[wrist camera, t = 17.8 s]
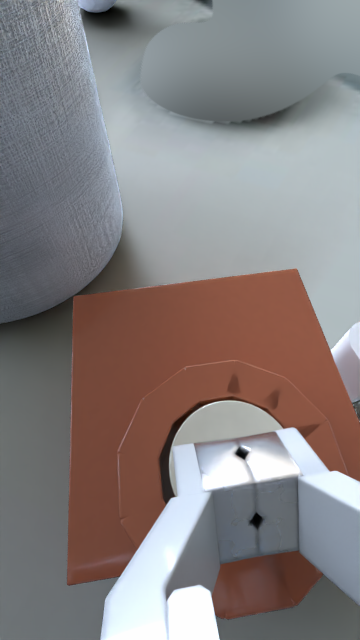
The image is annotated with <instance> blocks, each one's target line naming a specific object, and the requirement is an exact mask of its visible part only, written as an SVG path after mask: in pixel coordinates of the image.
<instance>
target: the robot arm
mask: <svg viewBox="0 0 360 640" xmlns="http://www.w3.org/2000/svg"><path fill="white" fill-rule="evenodd" d="M172 451H173V460H174V469H175V477H176V486H177V495H178V497H174V498H171V499H170V500H169V502H168V504H167V505H166V507H165V508H164V510H163V511H162V513H161V514H160V516H159V517H158V519H157V520H156V522H155V524H154V525H153V527H152V528H151V530H150V531H149V533H148V534H147V536H146V537H145V539H144V540H143V542H142V544H141V545H140V547H139V548H138V550H137V551H136V553H135V554H134V556H133V557H132V559H131V560H130V562H129V564H128V565H127V567H126V568H125V570H124V571H123V573H122V574H121V576H120V577H119V579H118V580H117V582H116V584H115V585H114V587H113V588H112V590H111V591H110V593H109V594H108V596H107V597H106V599H105V606H104V614H103V623H102V631H101V639H100V640H220V639H219V634H218V629H217V623H216V618H215V612H214V607H213V602H212V593H213V589H214V586H215V583H216V580H217V576H218V573H219V570H220V564H225V563H230V562H234V561H239V560H244V559H248V558H253V557H258V556H264V555H271V554H278V553H285V552H292V551H298V550H299V553H300V554H301V555H303V556H304V557H305V558H306V559H307V560H308V561H309V562H310V563H311V564H313V565H314V566H315V567H316V568H317V569H318V570H319V571H320V572H322V573H323V574H324V575H325V576H326V577H327V578H328V579H329V580H331V581H332V582H333V583H334V584H335V585H336V586H337V587H338V588H340V589H341V590H342V591H343V592H344V593H345V594H346V595H347V596H348V597H350V598H351V599H352V600H353V601H354V602H355V603H356V604H357V605H359V606H360V482H359V481H357V480H355V479H353V478H351V477H349V476H346V475H344V474H342V473H340V472H338V471H331V472H330V471H329V470H328V469H327V467H326V466H325V465H324V463H323V462H322V461H321V460H320V458H319V457H318V456H317V454H316V453H315V452H314V451H313V449H312V448H311V447H310V445H309V444H308V443H307V442H306V440H305V439H304V438H303V436H302V435H301V434H300V433H299V431H298V430H297V429H296V428H294V427H291V428H286V429H281V430H275V431H273V432H267V433H261V434H255V435H249V436H243V437H237V438H227V439H219V440H212V441H204V442H197V443H194V444H193V443H190V444H183V445H177V446H173V448H172Z"/></svg>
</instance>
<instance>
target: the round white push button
mask: <svg viewBox="0 0 360 640" xmlns="http://www.w3.org/2000/svg"><path fill="white" fill-rule="evenodd" d="M281 429H283V428H282V427H281V425H280V424H279V423H278V422H277V421H276V420H275V419H274V418H273V417H272V416H270V415H269V414H268V413H266V412H265V411H263V410H262V409H260V408H258V407H256V406H254V405H251V404H248V403H245V402H240V401H230V400H227V401H218V402H214V403H211V404H208V405H205V406H203V407H201V408H199V409H198V410H196V411H195V412H194V413H192V414H191V415H190V416H189V417H188V418H187V419H186V420H185V421H184V422H183V424H182V425H181V427H180V428H179V430H178V431H177V433H176V435H175V438H174V440H173V443H172V446H171V450H170V456H169V476H170V481H171V486H172V489H173V492H174V495H175V497H178V495H177V486H176V477H175V469H174V460H173V451H172V448H173V446H177V445H183V444H190V443H193V444H194V443H197V442H204V441H212V440H219V439H227V438H237V437H243V436H249V435H255V434H261V433H267V432H273V431H275V430H281Z"/></svg>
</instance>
